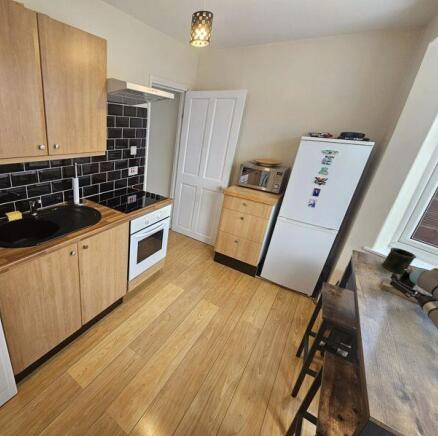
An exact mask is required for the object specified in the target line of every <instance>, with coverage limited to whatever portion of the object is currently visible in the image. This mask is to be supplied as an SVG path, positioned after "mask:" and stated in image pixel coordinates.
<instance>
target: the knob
mask: <svg viewBox="0 0 438 436" xmlns="http://www.w3.org/2000/svg"><path fill="white" fill-rule="evenodd" d="M413 271H414V270H413V269H409V268H407V269H405V270H404V272H403V273H402V274H400V276H399V277H398V278H399V279H400V281H401V283H403V284H405V285H407V286H409V287H411V288H412V289H414V288H415V287H416V286H417V285H416V284H415V283H413V282H412V281H411V280H410V274H411V273H412V272H413Z"/></svg>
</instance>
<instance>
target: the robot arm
mask: <svg viewBox="0 0 438 436" xmlns="http://www.w3.org/2000/svg"><path fill="white" fill-rule="evenodd" d="M399 278H400V277H398V275H396V273H392V274H391V276H390V280H391V282H390V285H392V286H393V287H394V288H396V289H397V290H399V291H400V292H401V293H403V294H404V295H405V296H406V297H408V298H410V297H414V298H415V299H416V300H417V301H418V303H417V304H418V306H419V308H420V309H421V310H422V311H423V312H424V314H425V315H426V316H427V317H428V318H429V319H430V321H431V322H432V324H433V325H434V326H435V327H436V329H437V330H438V266H436V267H434V268H432V269H430V270H429V269H427V268H423V267H422V268H416V269H414V270H413V272H412V273H411V274H410V280H411V281H412V282H413V283H415V284H416V285H415V286H417V287H418V288H419V289H422V290H423V291H425V292H426V293H425V292H422V291H420V290H418V289H414V288H413V289H412V288H411V287H409V286H407V285H405V284H403V283H401V281H400V279H399ZM416 292H417V294H415V293H416ZM414 294H415V295H414Z"/></svg>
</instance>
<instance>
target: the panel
mask: <svg viewBox="0 0 438 436" xmlns="http://www.w3.org/2000/svg"><path fill="white" fill-rule="evenodd" d="M390 282H391V279H389V278H384V280H383V281H382V283H381V286H380V290H382V291H384V292H388V293H389V292H390V293H393V294H395V295H397V296H400V297H402V298H404V299H407V300H408V301H410V302H413V303H415V304H418V301H417V300H416V299H415V298H414V297H410V298H408V297H406V296H405V295H404V294H403V293H401V292H400V291H399V290H397V289H396V288H394V287H393V286H392V285H390ZM415 294H417V292H416V293H415ZM415 294H414V295H415Z"/></svg>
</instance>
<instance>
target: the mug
mask: <svg viewBox="0 0 438 436" xmlns="http://www.w3.org/2000/svg"><path fill="white" fill-rule="evenodd" d="M416 258H417V256H416V255H415V254H414V253H412V252H411V251H408V250H405V249H402V248H398V247H391V248H390V251H389V252H388V255H387V256H386V257H385V259H384V261H383V262H382V267H383V268H384V269H386V270H388V271H389V272H392V273H394V274H400V275H402V273H403V272H404V270H405V269H409V267H410V266H411V264H412V263H413V261H414V260H415V259H416Z"/></svg>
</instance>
